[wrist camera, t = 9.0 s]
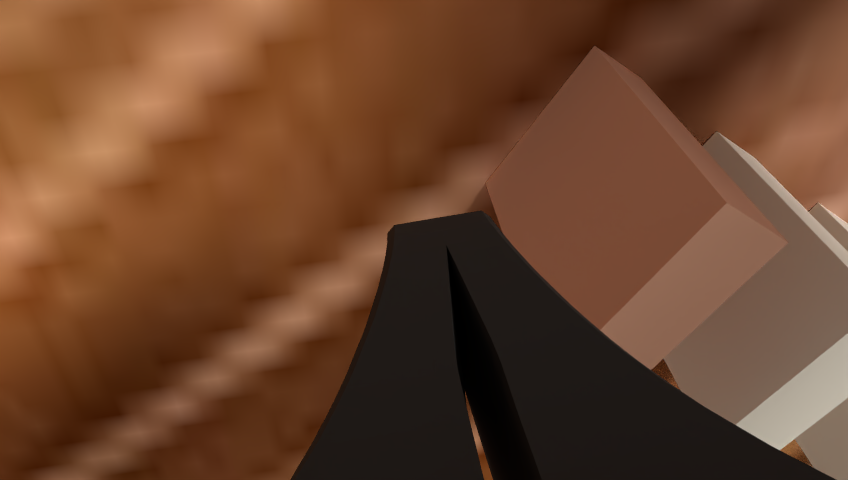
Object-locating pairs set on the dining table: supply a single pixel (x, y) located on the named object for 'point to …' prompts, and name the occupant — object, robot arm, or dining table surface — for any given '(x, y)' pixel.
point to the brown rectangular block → (628, 211)
